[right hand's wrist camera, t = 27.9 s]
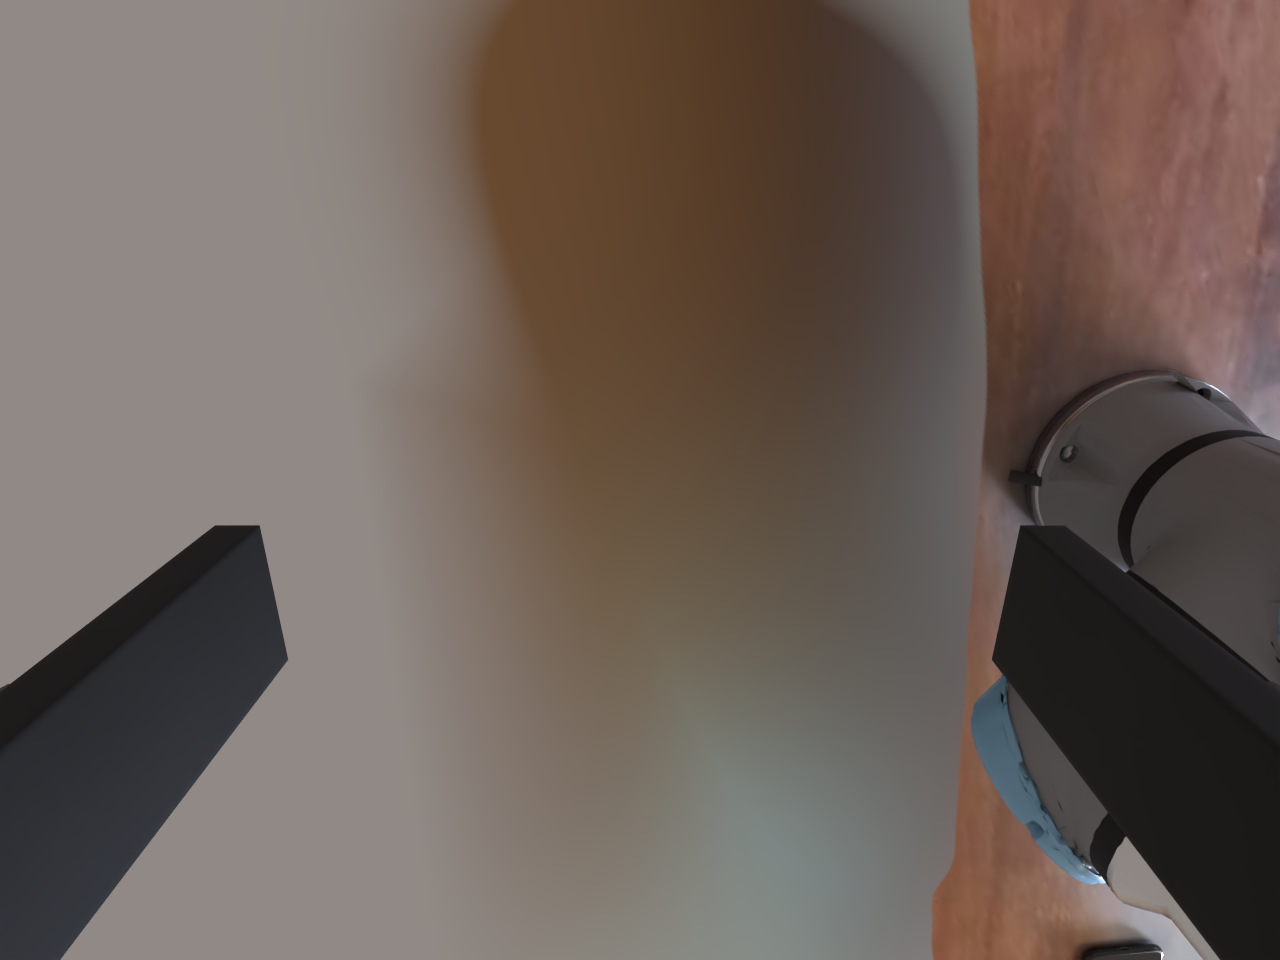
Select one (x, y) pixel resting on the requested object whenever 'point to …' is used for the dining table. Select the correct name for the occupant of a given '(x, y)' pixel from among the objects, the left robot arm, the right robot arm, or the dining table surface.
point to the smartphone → (1126, 953)
